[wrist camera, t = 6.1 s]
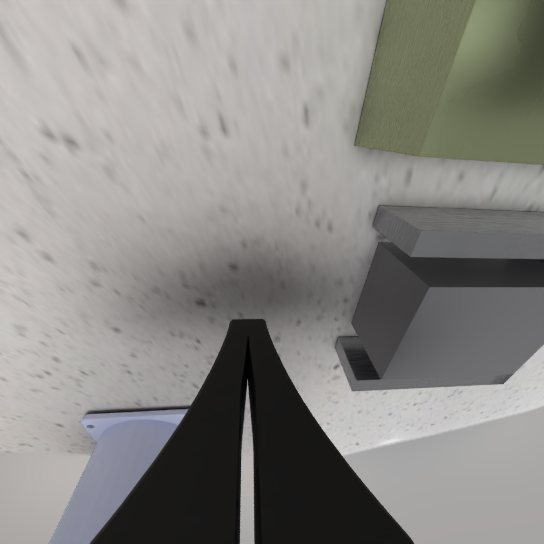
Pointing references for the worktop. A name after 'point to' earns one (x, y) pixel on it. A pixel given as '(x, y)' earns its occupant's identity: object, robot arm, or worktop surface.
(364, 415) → the worktop surface
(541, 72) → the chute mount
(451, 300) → the grey block
